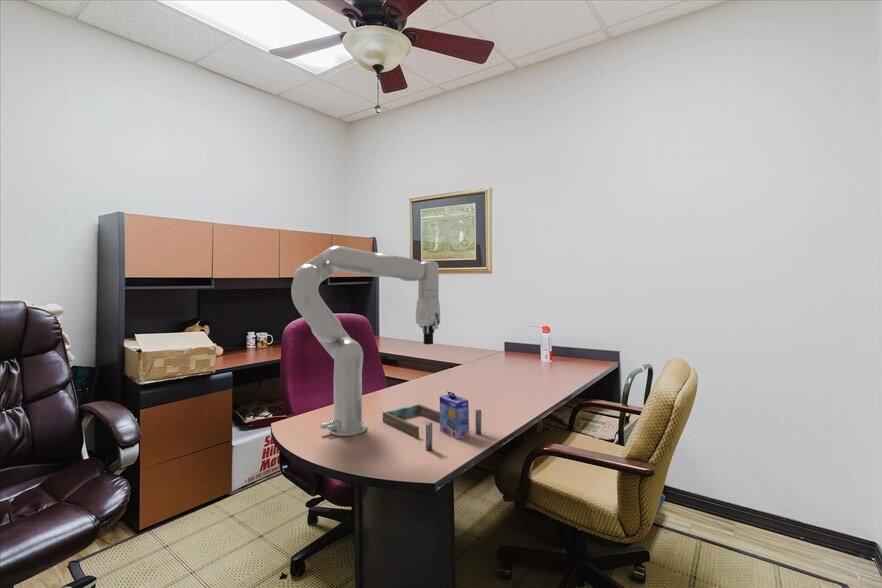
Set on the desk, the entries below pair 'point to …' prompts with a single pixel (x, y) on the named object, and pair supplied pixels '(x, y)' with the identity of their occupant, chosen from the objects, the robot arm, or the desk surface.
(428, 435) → the post left
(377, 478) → the desk surface
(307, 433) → the desk surface
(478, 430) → the post right
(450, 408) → the ink cartridge box
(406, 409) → the channel
